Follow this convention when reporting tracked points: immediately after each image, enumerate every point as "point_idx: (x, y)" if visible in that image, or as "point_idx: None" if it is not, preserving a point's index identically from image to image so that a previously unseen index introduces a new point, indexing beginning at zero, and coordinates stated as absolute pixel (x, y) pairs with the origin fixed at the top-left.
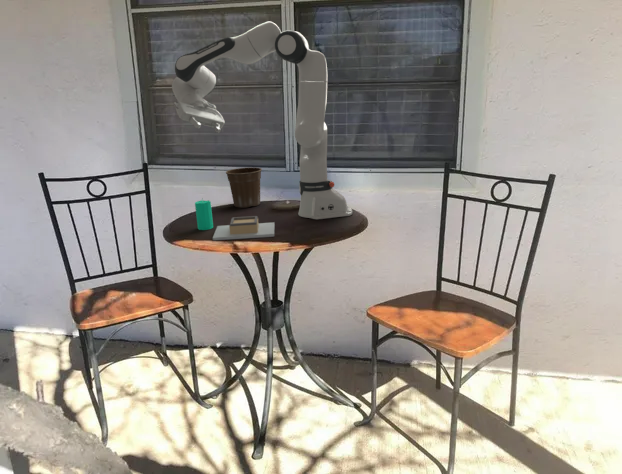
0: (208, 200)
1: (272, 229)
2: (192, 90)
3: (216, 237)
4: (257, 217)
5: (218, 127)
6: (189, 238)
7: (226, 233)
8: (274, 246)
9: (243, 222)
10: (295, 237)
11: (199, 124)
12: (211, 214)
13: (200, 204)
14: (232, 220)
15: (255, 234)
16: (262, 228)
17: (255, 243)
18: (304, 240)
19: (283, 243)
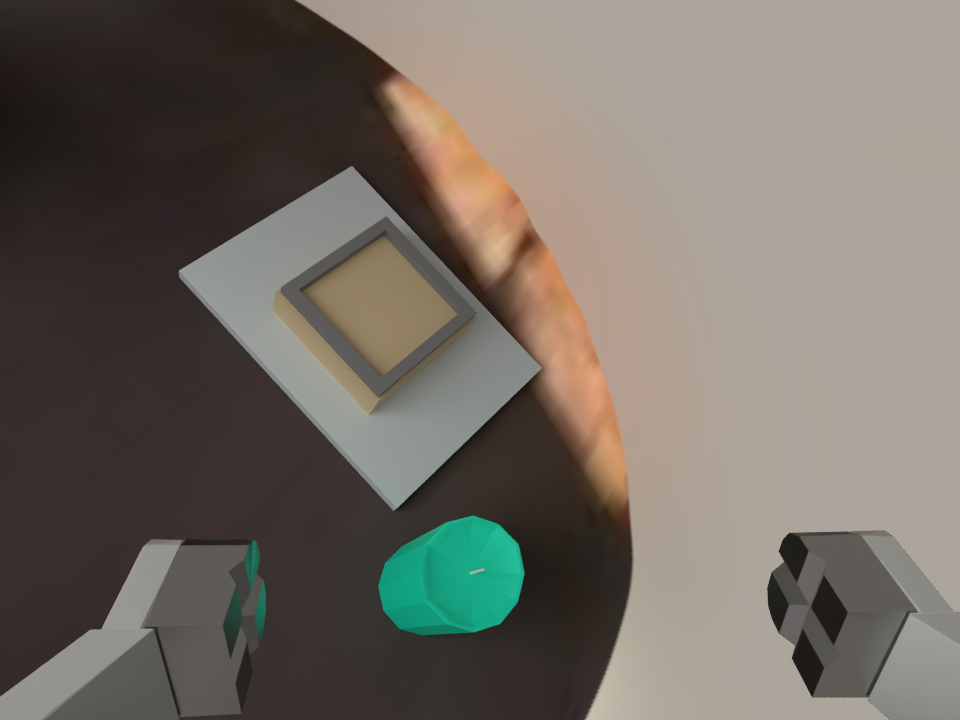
0: (420, 575)
1: (299, 207)
2: None
3: (529, 355)
4: (280, 290)
5: (148, 613)
6: (581, 496)
7: (464, 359)
8: (446, 113)
9: (390, 301)
10: (313, 93)
11: (851, 538)
12: (419, 538)
13: (511, 541)
14: (422, 348)
15: (402, 231)
16: (310, 258)
17: (460, 192)
18: (328, 49)
19: (401, 100)
